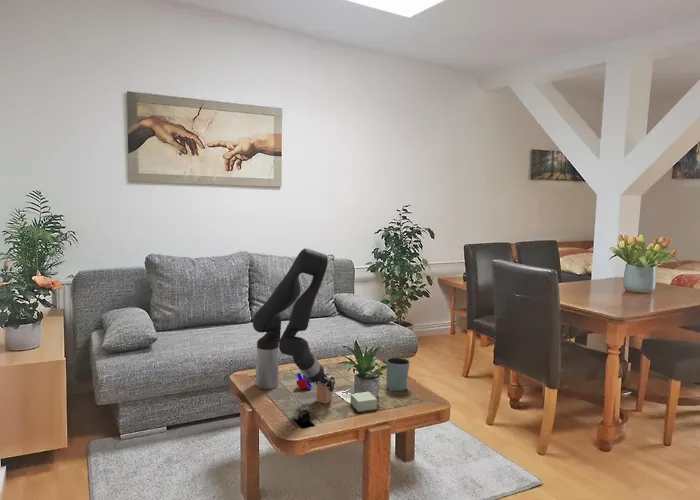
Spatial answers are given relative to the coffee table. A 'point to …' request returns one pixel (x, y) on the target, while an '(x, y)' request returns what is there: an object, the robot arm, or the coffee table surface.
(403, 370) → the blue-grey cup
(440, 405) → the coffee table surface
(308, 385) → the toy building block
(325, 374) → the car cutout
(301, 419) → the black piece
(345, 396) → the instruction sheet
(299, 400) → the coffee table surface
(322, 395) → the terracotta brick
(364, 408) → the base brick
